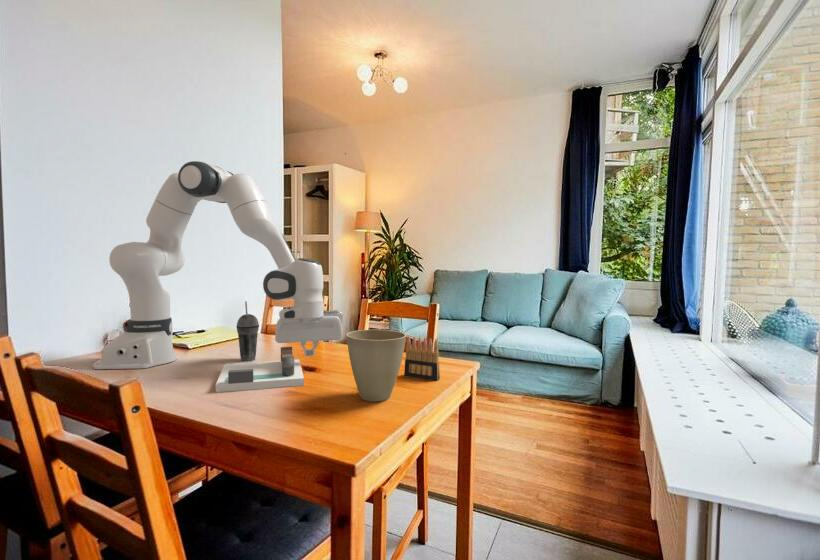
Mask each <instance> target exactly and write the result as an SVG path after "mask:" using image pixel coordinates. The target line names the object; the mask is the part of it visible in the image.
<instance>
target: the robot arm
mask: <svg viewBox="0 0 820 560" xmlns="http://www.w3.org/2000/svg"><path fill="white" fill-rule="evenodd" d="M202 200H204V201H208V202H215V203H218V204H219V203H221V204H226V205H227V207H228V208H229V211H230V214H231V217H232V219H233V221H234V223H235V225H236V226H237V227H238V230H240V232H242V234H244V235H245V236H247V237H249V238H250V239H253V240H254V241H256V242H259V243H260V244H261V245H263V246H264V247H265V248H266V249H267V250H268V252H269V253H270V255H271V257H272V258H273V261H274V262H275V265H276V266H277V269H274V270H271V271H269V272H268V273H267V274H266V275H265V276H264V278H263V282H262V288H263V291H264V293H265V295H266V296H267V297H268V298H269V299H271V300H275V301H284V300H292V299H293V304H294V305H292V306H289V307H286V308H283V309H281V310H280V311H279V313H278V315H279V319H277V321H276V327H275V331H274V332H275V334H274V335H275V336H274V341H275V342H276V344H284V343H286V344H288V343H300V346H301V347H302V349H303V351H304V355H303V356H304V357H312V356H313V357H314V356H315V350H316V349H317V347H318V345H319V342H322V341H324V342H327V341H339V340H341V339H342V337H343V329H342V324H343V320H344V318H343V317H344V315H343V313H342V312H340V311H339V310H338V309H337V310H336V309H335V310H324V304H325V303H324V296H323V291H324V272H323V267H322V265H321V263H320V262H319V261H318V260H315V259H312V258H302V257H300V258H296V257H295V255H294V254H293V252H292V250H291V248H290V245H289V243H288V242H287V240H286V238H285V237H284V235H283V233H282V232H281V229H280V227H279V226H278V224H277V222H276V220H275V218H274V216H273V214H272V212H271V210H270V207H269V206H268V205H269V204H268V203H267V201H266V198H265V196H264V194H263V193H262V191H261V189H260V187H259V186H258V184H257V183H256V181H255V180H254V179H253V177H252V176H250V175H248V174H247V173H235V174H233V172H231V171H228V170H225V169H224V168H222V167H220V166H216V165H212V164H208V163H206V162H203V161H199V160H198V161H195V160H194V161H189V162H186V163H184V164H183V165H182V166H181V167H180V168H179V171H178V172H173V173H171V174H170V175H169V176H168V177H167V179H166V180H165V182H164V183H163V184H162V186H161V187H160V189H159V190H158V192H157V195H156V196H155V199H154V201H153V203H152V205H151V207H150V210H149V211H148V214H147V216H146V219H145V222H146V226H147V227H148V229H149V230H150V231H149V239H148V241H147V242H144V241H143V242H140V241H132V242H131V241H130V242H126V243H122V244H118V245H116V246H115V247H113V249H112V250H111V252H110V253H109V259H108V260H109V265H110V267H111V269H112V270H113V271H114V272H115V273H116V274H117V275H118V276H120V278H121V279H122V281H123V283H124V285H125V287H126V290H127V292H128V293H127V294H128V297H129V310H130V318H129V319H127V320H126V321H125V322H123V323H122V327H121V328H123V332H121V333H120V334H119V335H118V336H116V337H114V338H113V339H112V340H111V341H109V342H108V343H107V344H106V345H105V346H104V348H103V351H102V354H101V359H98V360H96V362H94V363H93V365H92V368H93V370H120V369H121V370H123V369H124V370H125V369H128V370H129V369H133V370H134V369H135V370H136V369H147V368H151V367H155V366H161V365H164V364H168V363H172V362H174V361H176V360H177V355H176V354H175V349H174V346H173V340H172V333H173V319H172V317H171V295H170V294H169V292H168V291H167V290H165V289H164V287H163V286H162V284H161V280H160V278H159V277H164V276H165V277H167V276H169V275H173V274H175V273H177V272H179V271H180V270H181V269H182V268H183V267H184V265H185V255H184V253H183V251H182V243H183V242H182V241H183V237H184V233H185V231H186V229H187V226H188V224H189V222H190V220H191V218H192V215H193V213H194V210H195V209H196V206H197V204H198V203H199V202H201V201H202ZM307 342H312V345H313V346H312V348H307V347H305V346H306V344H307Z"/></svg>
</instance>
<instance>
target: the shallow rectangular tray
mask: <svg viewBox="0 0 820 560" xmlns="http://www.w3.org/2000/svg"><path fill="white" fill-rule="evenodd" d="M302 386H305V376H304V374H303V370H302V365H301V362H300V359H294V374H293V375H288V376H285V375H282V361H281V360H270V361H267V360H266V361H250V362H238V363H237V362H236V363H225V364H224V366H223V368H222V370H221V371H220V374H219V376H218V378H217V381H216V383H215V393H227V392H240V391H251V390H262V389H263V390H264V389H275V388H289V387H302Z"/></svg>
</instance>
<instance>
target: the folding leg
mask: <svg viewBox="0 0 820 560" xmlns="http://www.w3.org/2000/svg"><path fill="white" fill-rule="evenodd" d="M293 353H294V352H293V347H292V346H281V347H280V361H282V375H285V376H288V375H293V374H294V360H295V356H294V354H293Z"/></svg>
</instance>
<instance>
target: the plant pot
mask: <svg viewBox="0 0 820 560" xmlns="http://www.w3.org/2000/svg"><path fill="white" fill-rule="evenodd" d="M346 342H347V349H348V357H349V361H350V366H351V371H352V375H353V377H354V382H355V384H356V388H357V391H358V395H359V396H360V399H362V400H364V401H367V402H372V403H373V402H374V403H375V402H384V401H387V400H388V399H390V398H391V395H392V393H393V390H394V388H395V385H396V382H397V379H398V376H399V372H400V369H401V365H402V362H403V357H404V351H405V348H406V347H405V345H406V342H407V334H406V333H405V332H402V331H397V330H391V329H389V330H388V329H360V330H353V331H350V332H347V333H346Z"/></svg>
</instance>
